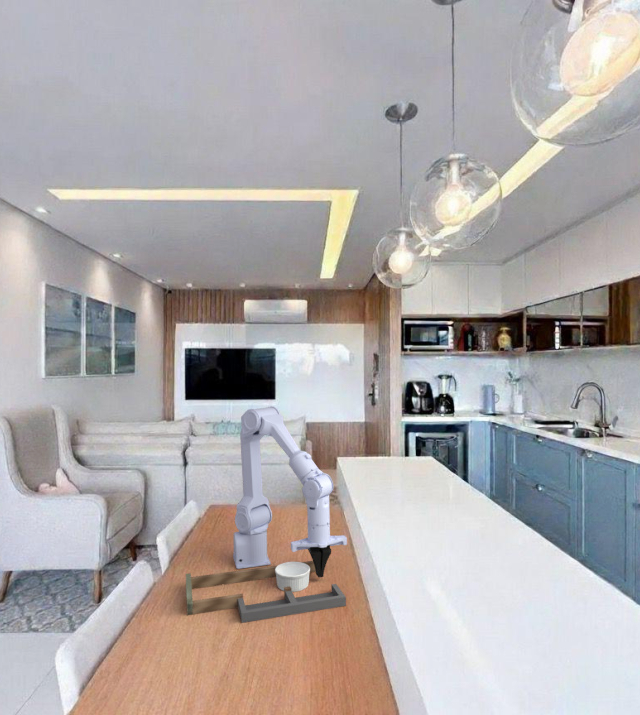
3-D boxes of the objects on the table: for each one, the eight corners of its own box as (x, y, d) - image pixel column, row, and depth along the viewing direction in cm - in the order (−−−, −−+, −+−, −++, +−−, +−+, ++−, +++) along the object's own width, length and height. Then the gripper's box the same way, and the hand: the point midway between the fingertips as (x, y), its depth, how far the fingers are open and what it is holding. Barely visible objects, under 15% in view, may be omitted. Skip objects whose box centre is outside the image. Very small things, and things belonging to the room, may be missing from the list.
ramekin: (317, 584, 126) (317, 567, 126) (292, 597, 119) (292, 579, 119) (292, 575, 132) (292, 558, 132) (268, 586, 125) (267, 569, 125)
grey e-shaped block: (241, 622, 108) (241, 613, 108) (237, 607, 115) (237, 598, 115) (345, 605, 114) (345, 596, 114) (336, 591, 121) (336, 583, 121)
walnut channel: (187, 615, 111) (186, 599, 112) (186, 587, 125) (185, 573, 125) (331, 592, 121) (331, 578, 121) (315, 569, 135) (315, 556, 135)
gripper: (294, 530, 122) (295, 586, 122) (350, 524, 126) (351, 577, 126) (288, 522, 129) (289, 574, 129) (341, 516, 133) (342, 567, 133)
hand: (319, 575), depth 128 cm, fingers closed
